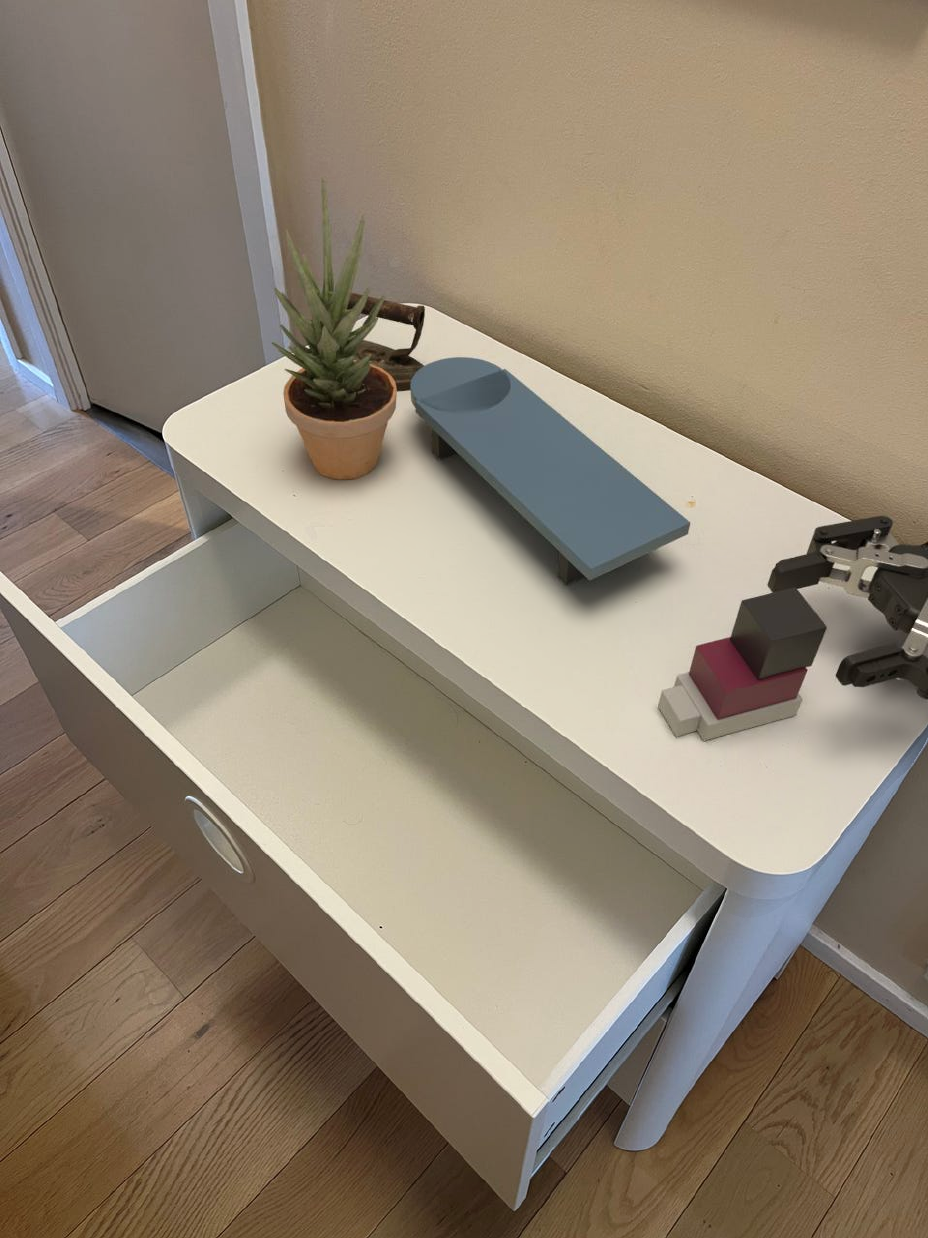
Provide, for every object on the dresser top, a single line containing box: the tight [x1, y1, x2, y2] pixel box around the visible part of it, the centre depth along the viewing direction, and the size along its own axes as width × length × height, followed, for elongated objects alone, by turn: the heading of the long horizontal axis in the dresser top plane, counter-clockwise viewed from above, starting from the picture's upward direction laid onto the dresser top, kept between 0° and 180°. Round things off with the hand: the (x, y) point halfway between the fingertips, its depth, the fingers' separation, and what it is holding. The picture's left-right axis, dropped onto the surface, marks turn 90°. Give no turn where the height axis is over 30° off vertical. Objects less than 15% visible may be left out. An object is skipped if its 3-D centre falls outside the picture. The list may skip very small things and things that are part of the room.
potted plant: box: [271, 172, 398, 480], centre depth 78 cm, size 10×10×25 cm
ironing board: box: [409, 356, 691, 586], centre depth 82 cm, size 30×10×5 cm, turn 32°
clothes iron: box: [347, 291, 426, 391], centre depth 93 cm, size 7×11×10 cm, turn 73°
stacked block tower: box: [657, 587, 828, 742], centre depth 64 cm, size 9×5×9 cm, turn 108°
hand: (805, 624), depth 63 cm, fingers open, 8 cm apart
